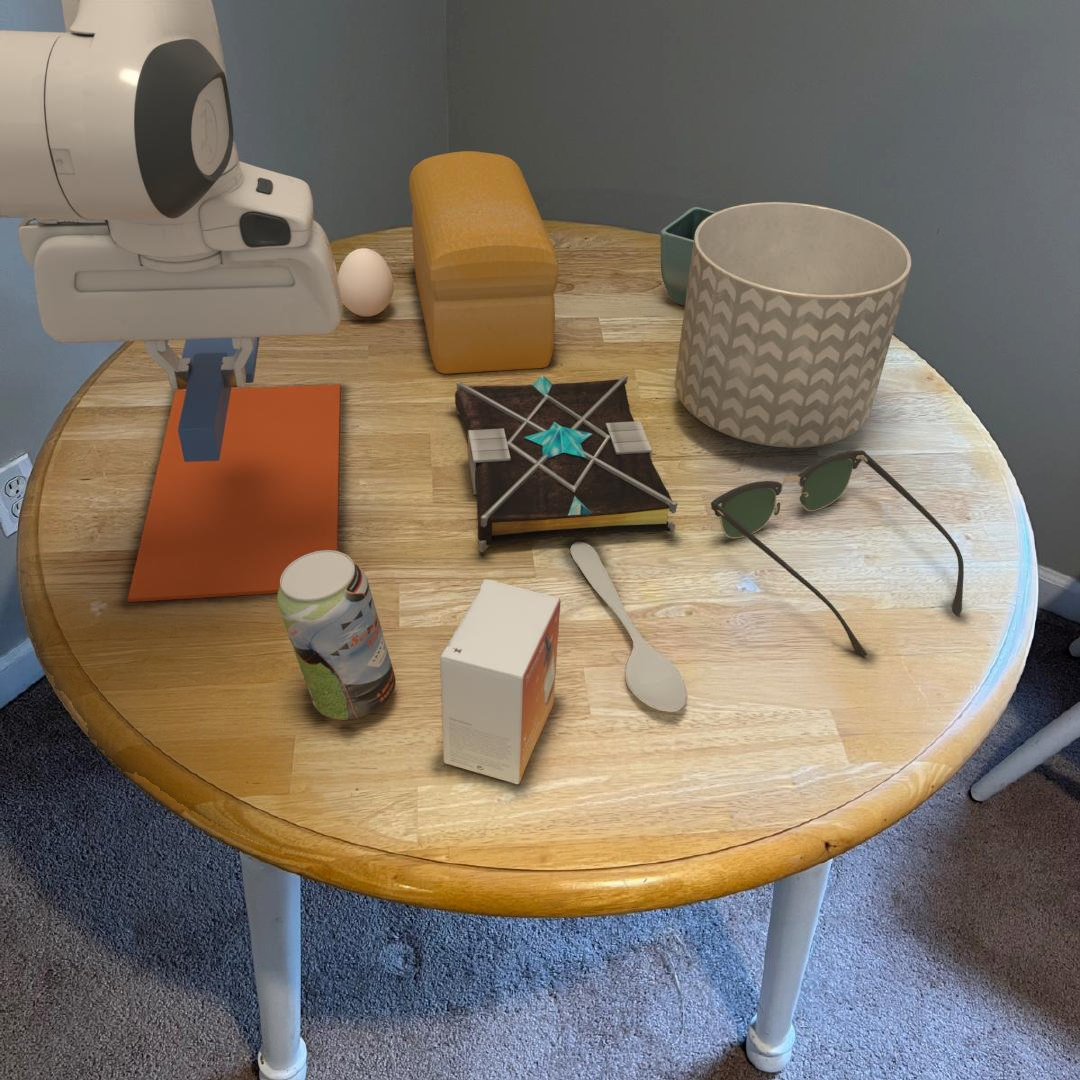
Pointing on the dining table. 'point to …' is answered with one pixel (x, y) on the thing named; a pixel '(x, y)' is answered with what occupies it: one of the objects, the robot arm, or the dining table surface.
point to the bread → (482, 264)
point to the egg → (365, 282)
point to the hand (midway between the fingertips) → (209, 384)
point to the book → (559, 462)
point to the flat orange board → (243, 497)
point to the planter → (788, 322)
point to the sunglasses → (819, 488)
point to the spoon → (635, 642)
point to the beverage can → (336, 634)
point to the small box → (499, 680)
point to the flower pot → (679, 252)
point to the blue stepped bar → (207, 397)
